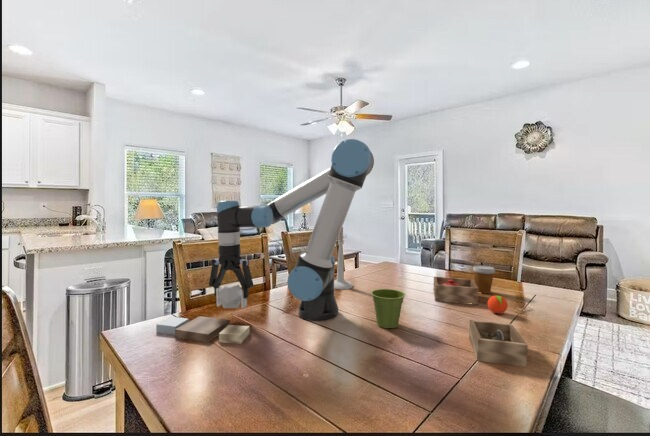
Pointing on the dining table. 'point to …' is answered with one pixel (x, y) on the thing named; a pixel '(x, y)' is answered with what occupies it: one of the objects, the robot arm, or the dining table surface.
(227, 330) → the oak block
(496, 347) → the tray
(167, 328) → the grey block
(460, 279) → the wooden box
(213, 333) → the walnut block
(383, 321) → the plant pot
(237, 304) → the die
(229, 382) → the dining table surface
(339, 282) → the candlestick
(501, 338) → the eagle figurine
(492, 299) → the clementine
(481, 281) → the disposable coffee cup
